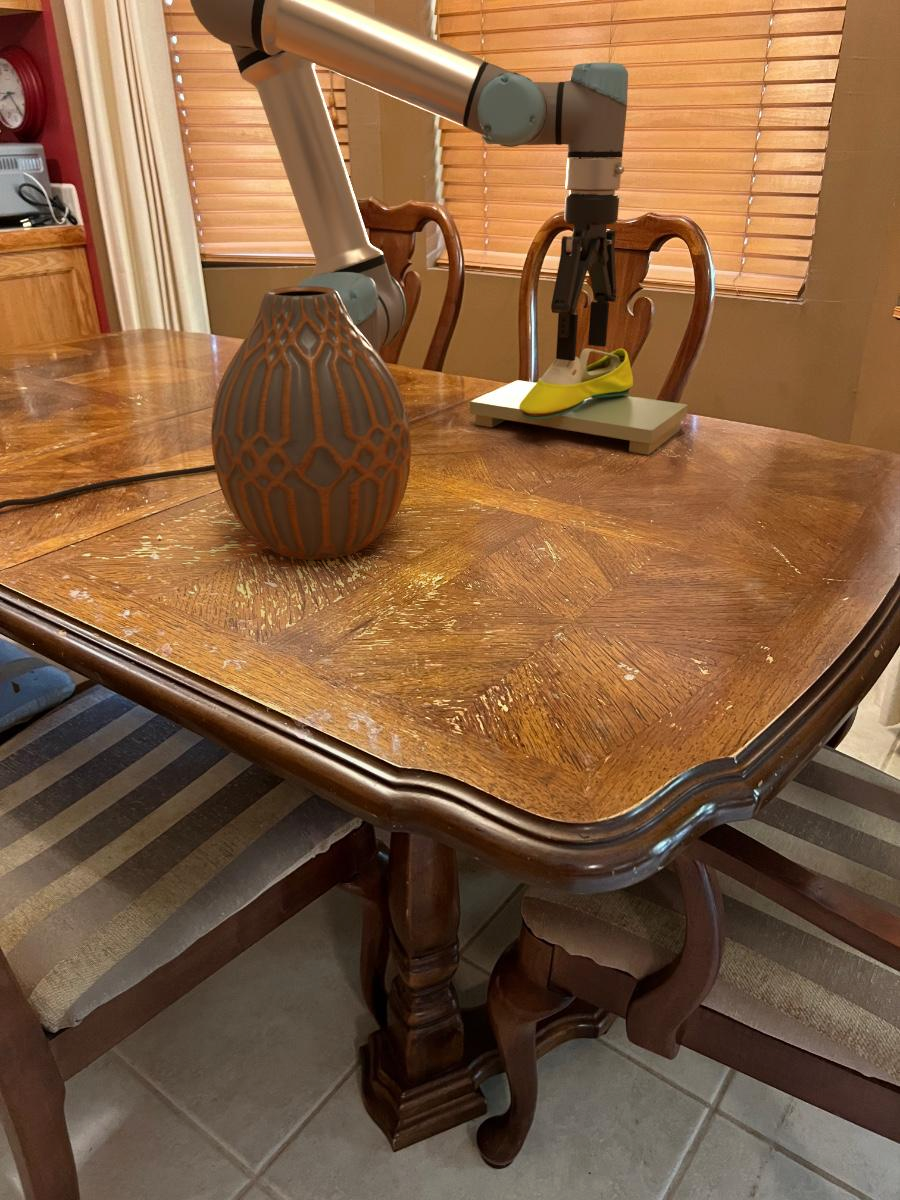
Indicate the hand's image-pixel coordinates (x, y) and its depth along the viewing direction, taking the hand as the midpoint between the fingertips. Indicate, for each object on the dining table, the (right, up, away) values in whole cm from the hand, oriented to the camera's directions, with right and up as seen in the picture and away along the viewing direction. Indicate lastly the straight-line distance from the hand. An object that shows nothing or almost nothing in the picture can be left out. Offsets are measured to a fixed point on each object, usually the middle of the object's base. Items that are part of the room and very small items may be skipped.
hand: (581, 352), depth 131 cm
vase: (-35, -31, -32) cm, 57 cm away
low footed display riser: (0, -10, +6) cm, 12 cm away
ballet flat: (-1, -7, +3) cm, 8 cm away
